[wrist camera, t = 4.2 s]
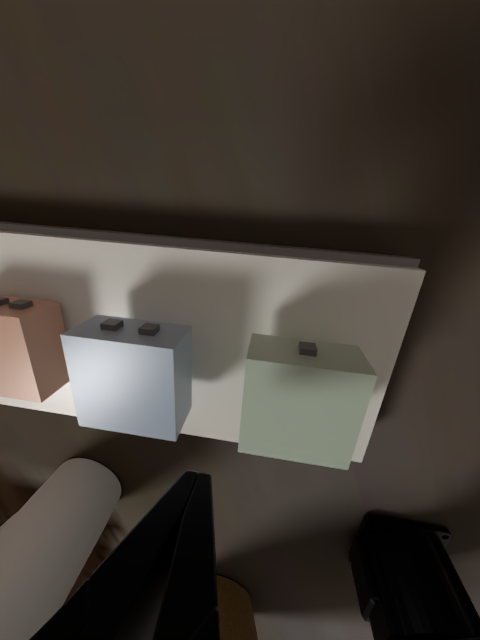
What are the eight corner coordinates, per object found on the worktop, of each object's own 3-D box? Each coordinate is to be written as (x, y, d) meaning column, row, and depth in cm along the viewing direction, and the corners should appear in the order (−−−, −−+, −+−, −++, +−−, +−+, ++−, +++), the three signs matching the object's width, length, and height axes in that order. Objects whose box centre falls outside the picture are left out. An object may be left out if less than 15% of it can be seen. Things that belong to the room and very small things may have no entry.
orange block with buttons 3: (58, 297, 15) (17, 312, 12) (74, 377, 17) (41, 402, 14) (-22, 288, 15) (-76, 300, 13) (3, 366, 17) (-40, 390, 15)
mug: (107, 451, 23) (-54, 672, 12) (136, 504, 25) (23, 732, 14) (17, 460, 25) (-190, 653, 14) (51, 508, 27) (-105, 708, 16)
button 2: (191, 320, 13) (172, 342, 11) (191, 406, 15) (175, 441, 12) (96, 309, 13) (58, 328, 11) (108, 394, 15) (78, 425, 13)
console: (404, 254, 14) (429, 261, 12) (351, 432, 19) (361, 462, 16) (-28, 217, 17) (-78, 218, 14) (20, 382, 21) (-12, 402, 19)
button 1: (360, 339, 12) (379, 369, 10) (336, 428, 14) (348, 470, 12) (252, 327, 13) (246, 352, 10) (244, 414, 15) (237, 452, 12)
